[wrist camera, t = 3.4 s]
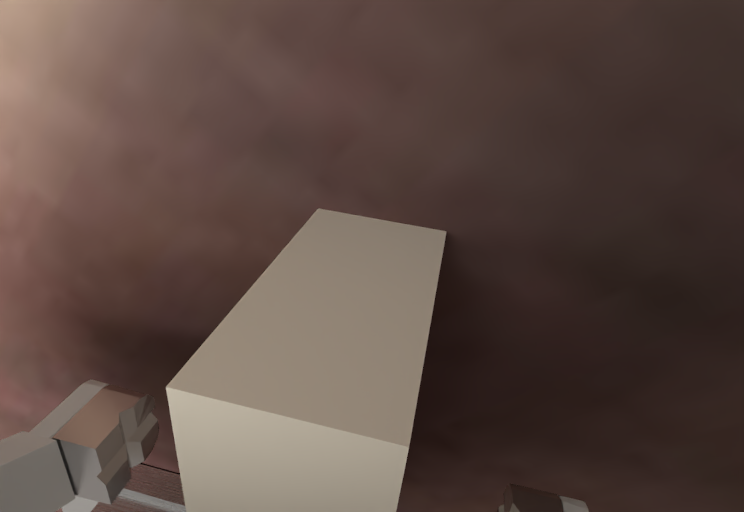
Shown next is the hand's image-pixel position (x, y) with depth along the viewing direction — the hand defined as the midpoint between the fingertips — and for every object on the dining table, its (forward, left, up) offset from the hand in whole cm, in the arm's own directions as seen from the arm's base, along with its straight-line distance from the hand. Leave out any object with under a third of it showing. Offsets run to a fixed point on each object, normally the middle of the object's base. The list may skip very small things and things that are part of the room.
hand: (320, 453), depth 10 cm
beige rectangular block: (0, 0, -3) cm, 3 cm away
